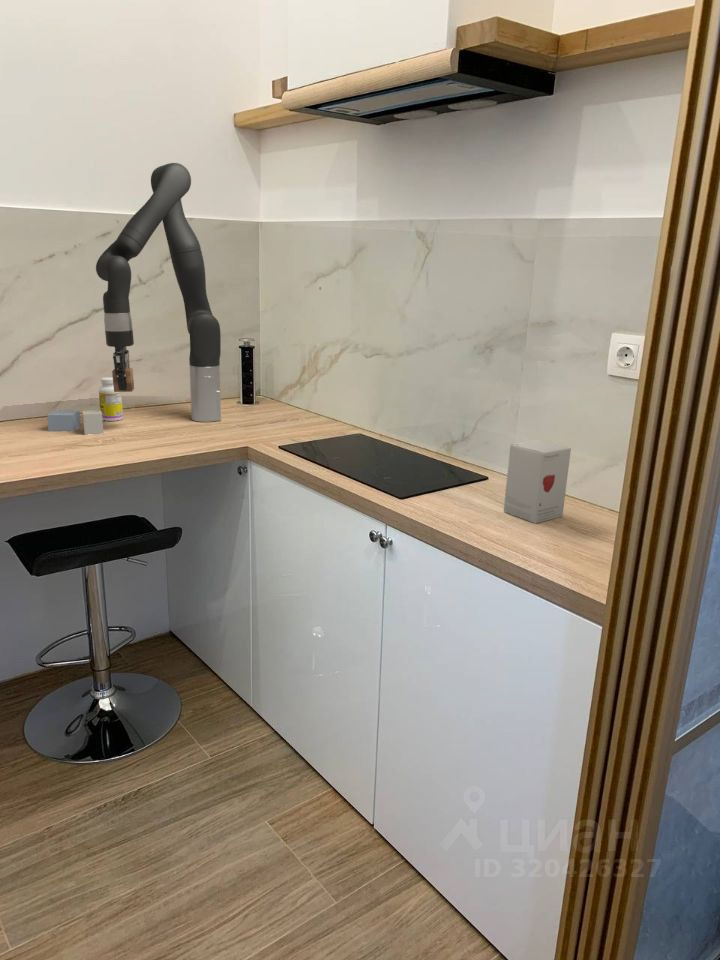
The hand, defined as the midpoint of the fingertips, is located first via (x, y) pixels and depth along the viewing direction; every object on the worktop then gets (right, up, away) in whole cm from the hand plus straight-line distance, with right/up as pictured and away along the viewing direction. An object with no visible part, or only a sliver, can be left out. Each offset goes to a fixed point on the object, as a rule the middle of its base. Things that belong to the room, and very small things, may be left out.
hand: (124, 387), depth 211 cm
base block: (-18, -12, +1) cm, 21 cm away
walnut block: (0, -1, 0) cm, 1 cm away
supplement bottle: (-9, -8, +15) cm, 19 cm away
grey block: (-8, -13, -2) cm, 16 cm away
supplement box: (+105, -34, -59) cm, 125 cm away
